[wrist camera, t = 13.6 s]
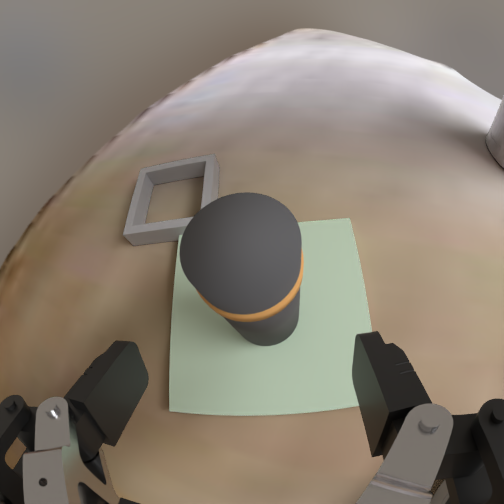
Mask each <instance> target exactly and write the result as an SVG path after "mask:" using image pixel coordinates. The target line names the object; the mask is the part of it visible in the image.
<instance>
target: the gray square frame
mask: <svg viewBox="0 0 504 504" xmlns="http://www.w3.org/2000/svg"><path fill="white" fill-rule="evenodd" d="M219 172H220V167H219V164H218V161H217V158H216V156H215V154H211V155H205V156H199V157H194V158H189V159H183V160H178V161H173V162H169V163H164V164H159V165H155V166H151V167H146V168H142V169H141V170H140V173H139V176H138V180H137V183H136V187H135V190H134V193H133V197H132V201H131V204H130V208H129V212H128V216H127V220H126V224H125V228H124V233H123V235H124V236H125V238H126V239H127V240H128V241H129V242H130V243H131V244H132V245H133V246H137V245H145V244H153V243H161V242H169V241H178V240H179V235H183V233H184V231H185V229H186V227H187V225H188V224H189V222H190V221H191V219H192V218H193V217H189V218H181V219H174V220H167V221H161V222H154V223H148V224H145V221H146V216H147V212H148V207H149V203H150V198H151V194H152V190H153V186H154V185H157V184H162V183H168V182H173V181H178V180H184V179H190V178H195V177H201V176H204V184H203V193H202V203H201V209H202V208H203V207H205V206H206V205H208V204H209V203H211V202H212V201H214V200H216V199H218V188H219Z"/></svg>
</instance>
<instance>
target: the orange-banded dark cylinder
mask: <svg viewBox="0 0 504 504" xmlns="http://www.w3.org/2000/svg"><path fill="white" fill-rule="evenodd" d="M179 255H180V263H181V266H182V269H183V272H184V274H185V276H186V277H187V279H188V281H189V282H190V283H191V284H192V285H193V286H194V287H195V288H196V290H197V292H198V294H199V295H200V297H201V298H202V299H203V300H204V302H205V303H206V304H207V305H208V306H209V307H210V308H211V309H213V310H214V311H215V312H216V313H218V314H220V315H221V316H223V317H224V318H225V319H226V320H227V321H228V322H229V323H230V324H231V325H232V326H233V327H234V328H235V329H236V330H237V331H238V332H239V333H240V334H241V335H242V336H243V337H244V338H245V339H246V340H247V341H249V342H251V343H253V344H255V345H259V346H273V345H276V344H279V343H281V342H283V341H285V340H286V339H287V338H288V337H289V336H290V335H291V334H292V333H293V332H294V330H295V328H296V326H297V323H298V319H299V305H300V285H301V282H302V278H303V267H304V258H303V251H302V240H301V232H300V228H299V225H298V222H297V220H296V219H295V217H294V215H293V214H292V213H291V212H290V210H289V209H288V208H287V207H286V206H284V205H283V204H282V203H280V202H279V201H277V200H275V199H273V198H271V197H269V196H266V195H262V194H257V193H236V194H231V195H227V196H224V197H221V198H219V199H216V200H214V201H212V202H211V203H209V204H208V205H206V206H205V207H203V208H202V209H201V210H200V211H199V212H198V213H197V214H196V215H195V216H194V217H193V218H192V219H191V221H190V222H189V224H188V225H187V227H186V229H185V231H184V233H183V236H182V239H181V243H180V253H179Z"/></svg>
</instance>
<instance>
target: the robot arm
mask: <svg viewBox="0 0 504 504" xmlns="http://www.w3.org/2000/svg"><path fill="white" fill-rule="evenodd" d="M486 144H487V146H488V149H489V151H490V152H491V154H492V155H493V157H494V158H495V159H496V161H497V162H498V163H499V164H500V165H501V166H502V167H503V168H504V96H503V99H502V102H501V104H500V107H499V109H498V112H497V114H496V116H495V119H494V121H493V123H492V126H491V128H490V130H489V132H488V134H487V137H486ZM352 380H353V385H354V389H355V393H356V396H357V400H358V403H359V407H360V411H361V415H362V418H363V422H364V426H365V430H366V434H367V438H368V442H369V447H370V451H371V455H372V457H375V456H380V455H383V459H384V462H383V463H382V465H381V467H380V468H379V470H378V472H377V473H376V475H375V476H374V478H373V479H372V481H371V482H370V484H369V485H368V487H367V488H366V490H365V491H364V493H363V494H362V495H361V497H360V498H359V500H358V501H357V503H356V504H430V502H431V499H432V495H433V493H432V492H431V488H432V485H433V483H434V480H437V479H445V481H446V485H447V489H448V493H449V497H450V501H451V504H504V400H503V399H492V400H489V401H487V402H486V403H484V404H483V406H482V407H481V409H480V410H479V412H478V413H475V414H465V415H451V414H450V412H449V411H448V410H447V409H446V408H444V407H442V406H440V405H437V404H432V402H431V400H430V398H429V396H428V394H427V393H426V391H425V389H424V387H423V385H422V383H421V381H420V379H419V378H418V376H417V374H416V372H415V371H414V369H413V367H412V365H411V363H409V360H408V358H407V356H406V354H405V353H404V351H403V350H402V349H400V348H399V347H398V346H396V345H395V344H394V343H390V344H385V343H384V341H383V339H382V337H381V335H380V334H379V332H378V331H375V332H368V333H361V334H357V335H356V337H355V345H354V355H353V364H352ZM147 385H148V372H147V370H146V367H145V365H144V362H143V360H142V357H141V355H140V352H139V349H138V347H137V345H136V344H135V343H134V342H130V341H115V342H114V343H113V344H112V345H111V346H110V347H109V349H108V350H107V351H106V352H105V353H103V354H102V355H100V356H99V357H97V358H96V359H95V360H94V361H93V362H92V364H91V365H90V366H89V368H87V370H86V371H85V372H84V375H82V376H81V377H80V378H79V379H78V381H77V382H76V383H75V384H74V385H73V387H72V388H71V389H70V390H69V392H68V393H67V394H66V395H65V397H64V398H62V397H51V398H49V399H46V400H45V401H43V402H42V403H41V404H40V405H39V407H29V406H28V405H27V404H26V402H25V401H24V400H23V398H22V397H21V396H19V395H12V396H9V397H7V398H6V399H4V400H3V401H2V402H1V404H0V504H139V503H136V502H133V501H130V500H127V499H124V498H119V497H118V495H117V494H116V492H115V490H114V488H113V485H112V482H111V478H110V475H109V471H108V468H107V464H106V460H105V456H104V452H103V450H102V449H101V448H100V447H101V445H102V443H105V444H108V445H111V446H114V447H115V445H116V443H117V441H118V439H119V438H120V436H121V434H122V432H123V430H124V428H125V426H126V424H127V423H128V421H129V419H130V417H131V415H132V413H133V411H134V410H135V408H136V406H137V404H138V402H139V400H140V399H141V397H142V395H143V393H144V391H145V390H146V388H147ZM16 437H18V438H19V440H20V441H21V442H22V443H23V444H24V445H25V446H26V447H27V448H26V450H25V451H24V453H23V455H22V456H21V458H20V459H19V461H18V463H17V464H16V466H15V468H14V469H13V470H12V469H11V468H10V467H9V466H8V465H7V464H6V462H5V454H6V452H7V450H8V449H9V447H10V446H11V444H12V443H13V442H14V440H15V439H16Z"/></svg>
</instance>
